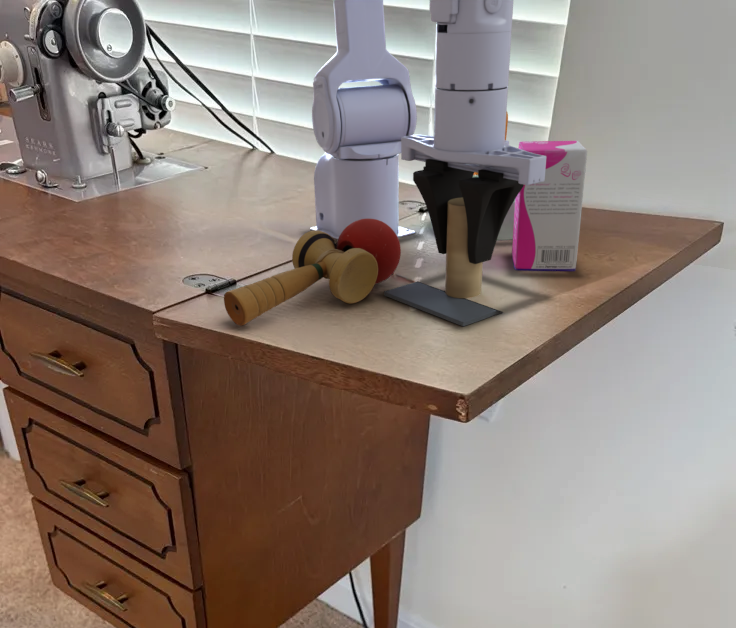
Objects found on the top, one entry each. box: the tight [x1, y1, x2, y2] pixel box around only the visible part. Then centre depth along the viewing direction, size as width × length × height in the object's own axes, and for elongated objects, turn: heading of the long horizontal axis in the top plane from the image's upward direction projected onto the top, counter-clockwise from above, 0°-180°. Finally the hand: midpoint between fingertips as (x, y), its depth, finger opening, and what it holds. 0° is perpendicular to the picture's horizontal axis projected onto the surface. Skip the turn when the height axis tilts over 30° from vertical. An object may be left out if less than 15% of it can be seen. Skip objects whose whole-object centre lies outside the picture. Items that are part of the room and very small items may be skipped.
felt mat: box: [383, 281, 503, 327], centre depth 70 cm, size 10×10×1 cm
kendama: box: [223, 218, 402, 327], centre depth 69 cm, size 8×6×18 cm
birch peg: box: [444, 198, 484, 299], centre depth 68 cm, size 3×3×8 cm
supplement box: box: [511, 140, 588, 272], centre depth 75 cm, size 6×6×12 cm
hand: (464, 256), depth 68 cm, fingers closed on birch peg, 3 cm apart
